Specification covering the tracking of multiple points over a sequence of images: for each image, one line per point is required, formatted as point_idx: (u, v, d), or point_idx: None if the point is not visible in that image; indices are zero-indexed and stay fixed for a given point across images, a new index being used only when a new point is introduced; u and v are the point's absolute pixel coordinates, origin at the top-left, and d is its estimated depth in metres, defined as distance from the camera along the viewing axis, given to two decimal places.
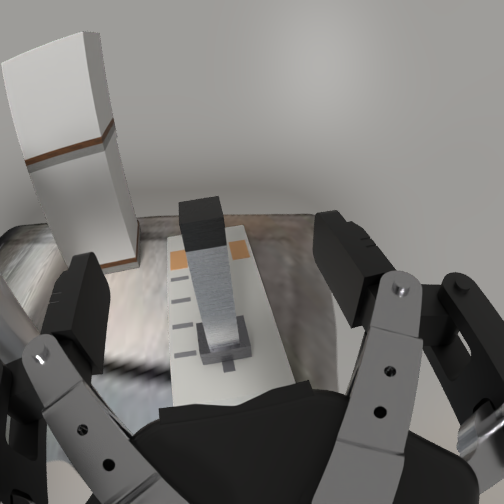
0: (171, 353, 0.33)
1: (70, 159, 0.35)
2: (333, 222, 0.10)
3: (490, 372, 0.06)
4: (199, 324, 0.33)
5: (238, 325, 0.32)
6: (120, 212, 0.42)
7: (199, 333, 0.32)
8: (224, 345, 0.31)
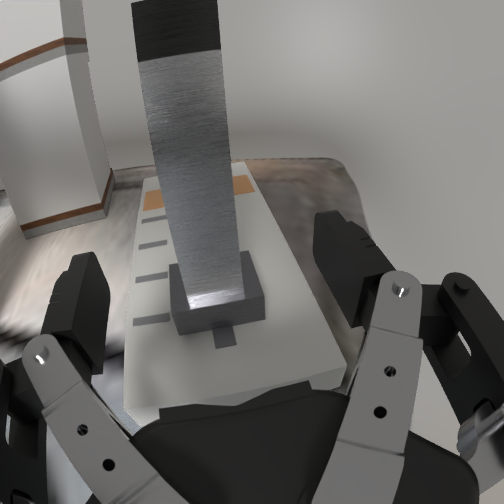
0: (129, 318, 0.19)
1: (24, 69, 0.22)
2: (333, 222, 0.10)
3: (490, 372, 0.06)
4: (174, 265, 0.19)
5: (240, 264, 0.19)
6: (81, 137, 0.28)
7: (173, 279, 0.18)
8: (215, 296, 0.17)
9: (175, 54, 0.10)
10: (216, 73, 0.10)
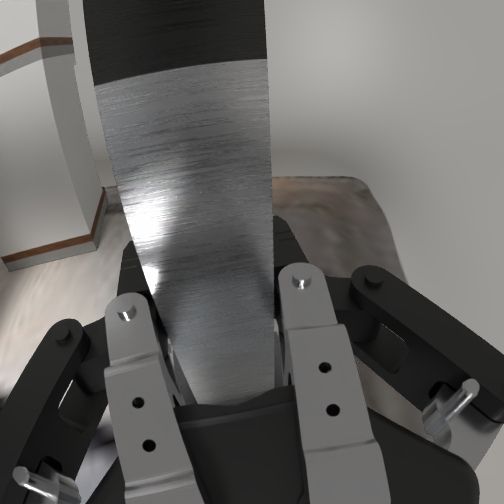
0: None
1: None
2: None
3: (436, 358, 0.06)
4: None
5: None
6: (63, 158, 0.23)
7: (179, 374, 0.13)
8: None
9: (171, 67, 0.05)
10: (256, 108, 0.05)
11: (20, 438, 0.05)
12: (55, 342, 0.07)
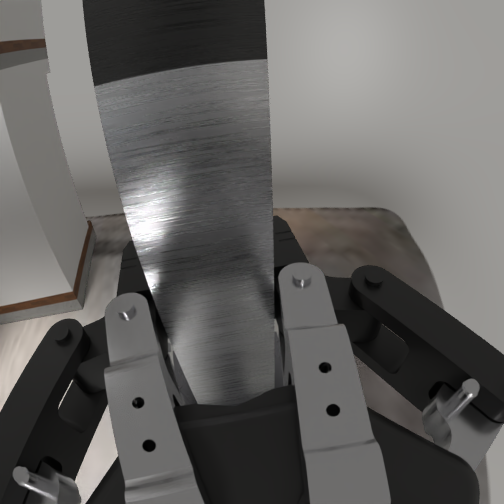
0: None
1: None
2: None
3: (436, 358, 0.06)
4: None
5: None
6: (30, 203, 0.17)
7: (179, 374, 0.13)
8: None
9: (171, 67, 0.05)
10: (256, 108, 0.05)
11: (20, 438, 0.05)
12: (55, 342, 0.07)
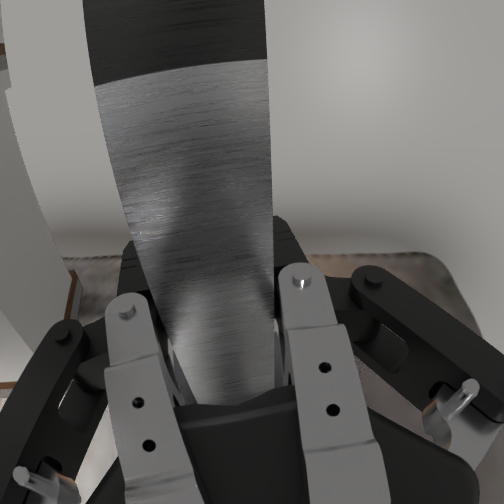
0: None
1: None
2: None
3: (436, 358, 0.06)
4: None
5: None
6: None
7: (179, 374, 0.13)
8: None
9: (171, 67, 0.05)
10: (256, 108, 0.05)
11: (20, 438, 0.05)
12: (55, 342, 0.07)
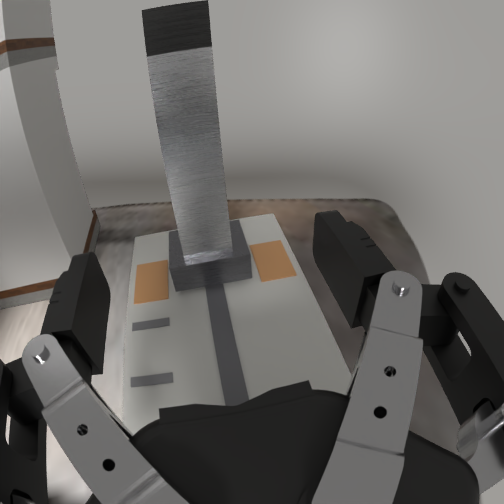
0: None
1: None
2: (333, 222, 0.10)
3: (490, 372, 0.06)
4: (173, 232, 0.22)
5: (231, 230, 0.22)
6: (40, 188, 0.19)
7: (172, 242, 0.21)
8: (208, 255, 0.20)
9: (176, 50, 0.12)
10: (208, 65, 0.13)
11: None
12: None
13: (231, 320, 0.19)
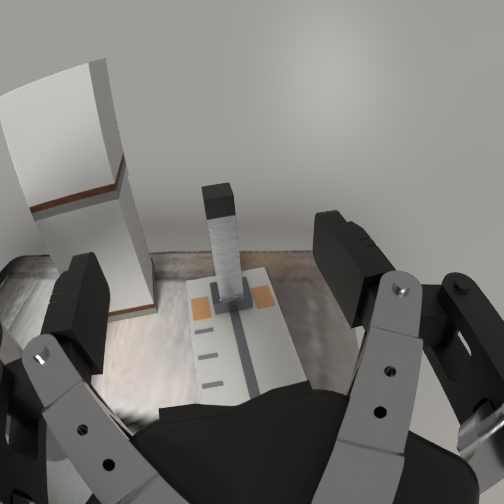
0: None
1: (80, 207, 0.33)
2: (333, 222, 0.10)
3: (490, 372, 0.06)
4: (212, 283, 0.43)
5: (242, 283, 0.43)
6: (137, 261, 0.40)
7: (212, 289, 0.42)
8: (231, 297, 0.41)
9: (220, 217, 0.34)
10: (234, 223, 0.34)
11: None
12: None
13: (243, 328, 0.40)
